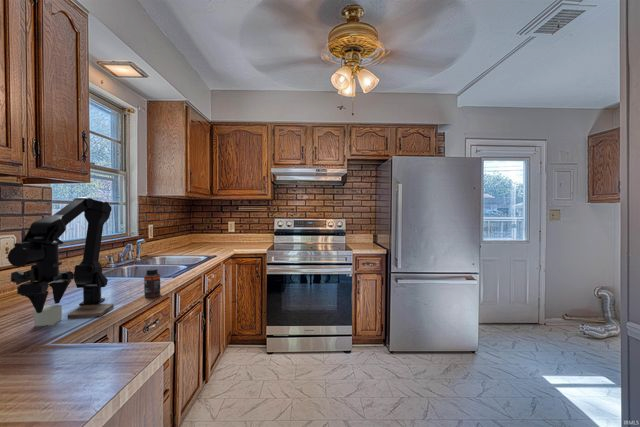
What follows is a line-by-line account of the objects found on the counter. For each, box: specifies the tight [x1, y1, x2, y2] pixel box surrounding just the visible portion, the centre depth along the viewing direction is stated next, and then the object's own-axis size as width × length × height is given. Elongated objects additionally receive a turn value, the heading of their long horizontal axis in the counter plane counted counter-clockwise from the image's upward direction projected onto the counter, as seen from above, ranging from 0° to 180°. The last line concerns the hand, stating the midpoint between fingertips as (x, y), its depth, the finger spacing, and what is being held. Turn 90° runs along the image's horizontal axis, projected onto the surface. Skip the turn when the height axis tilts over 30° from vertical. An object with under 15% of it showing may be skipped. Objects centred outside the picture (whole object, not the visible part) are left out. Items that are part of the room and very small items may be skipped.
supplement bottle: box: [143, 267, 161, 299], centre depth 133 cm, size 6×6×11 cm
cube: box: [33, 304, 63, 327], centre depth 103 cm, size 5×5×5 cm
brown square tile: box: [67, 303, 115, 319], centre depth 113 cm, size 10×10×1 cm
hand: (48, 308), depth 103 cm, fingers open, 9 cm apart
